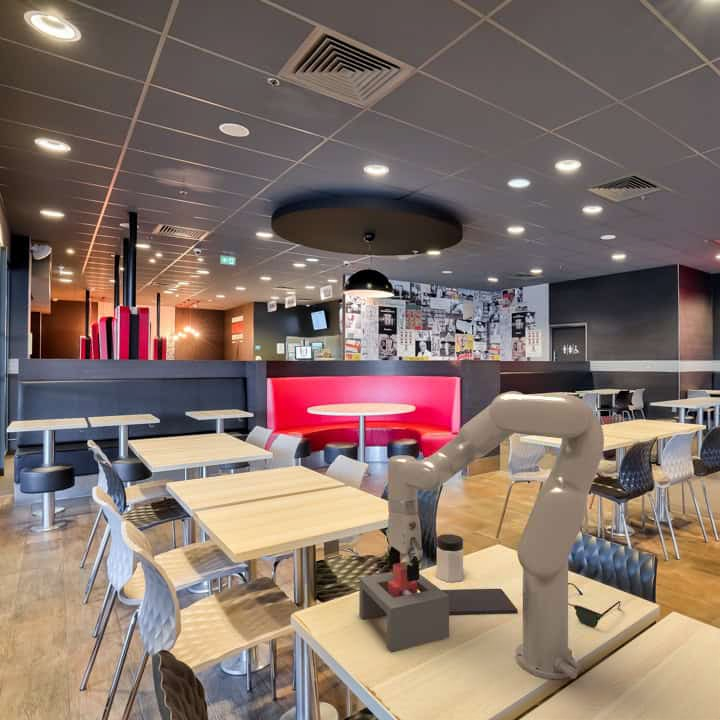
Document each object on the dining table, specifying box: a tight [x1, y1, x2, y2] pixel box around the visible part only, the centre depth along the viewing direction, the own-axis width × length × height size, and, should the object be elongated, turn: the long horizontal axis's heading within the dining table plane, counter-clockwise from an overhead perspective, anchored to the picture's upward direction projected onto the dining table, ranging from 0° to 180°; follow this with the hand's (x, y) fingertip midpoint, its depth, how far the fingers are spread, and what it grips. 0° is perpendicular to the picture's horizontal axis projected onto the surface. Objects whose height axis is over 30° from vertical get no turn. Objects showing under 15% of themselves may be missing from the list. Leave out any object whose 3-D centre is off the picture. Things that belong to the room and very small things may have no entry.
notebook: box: [441, 588, 519, 616], centre depth 136 cm, size 13×2×21 cm
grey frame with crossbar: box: [358, 571, 450, 653], centre depth 124 cm, size 18×16×10 cm
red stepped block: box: [387, 561, 418, 598], centre depth 124 cm, size 4×6×13 cm, turn 114°
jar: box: [436, 533, 464, 583], centre depth 154 cm, size 9×8×12 cm
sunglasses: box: [568, 582, 621, 629], centre depth 133 cm, size 16×17×5 cm
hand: (403, 572), depth 124 cm, fingers open, 9 cm apart
